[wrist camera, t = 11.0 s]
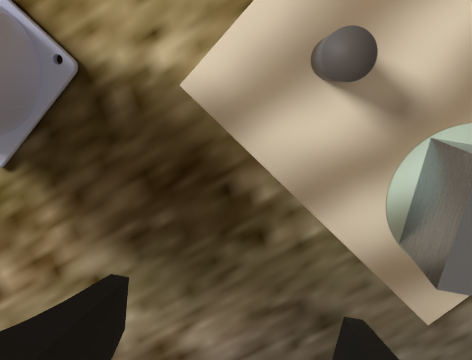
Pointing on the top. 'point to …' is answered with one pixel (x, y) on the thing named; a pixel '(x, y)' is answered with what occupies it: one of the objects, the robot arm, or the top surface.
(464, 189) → the steel collar
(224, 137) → the top surface
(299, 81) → the board
